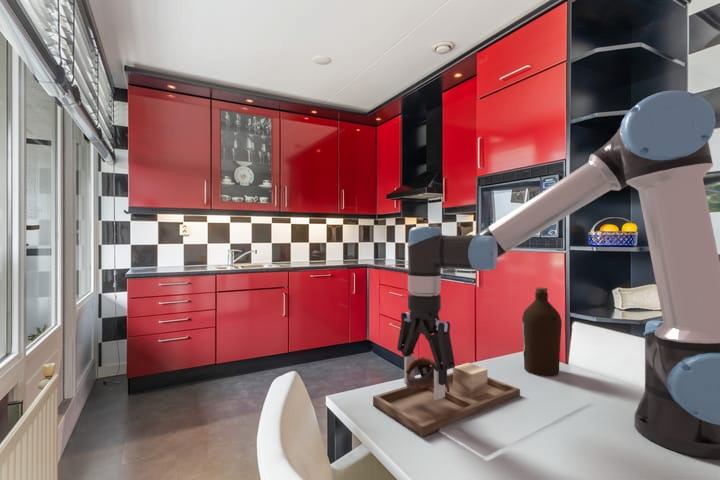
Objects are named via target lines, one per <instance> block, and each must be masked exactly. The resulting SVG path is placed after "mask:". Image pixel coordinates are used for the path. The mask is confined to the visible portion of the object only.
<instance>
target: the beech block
mask: <svg viewBox="0 0 720 480" xmlns="http://www.w3.org/2000/svg"><path fill="white" fill-rule="evenodd" d="M452 373H453V390H454V391H456V392H458V393H460V394H463V395H465V396H467V397H469V398H471V399H472V398H475V397H478V396H480V395H483V394H486V393H487V377H488V369H487V368H485V367H482V366H479V365H476V364H473V363H470V362H465V363H462V364H460V365H459V364H458V365H455V367H454V368H452Z"/></svg>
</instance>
